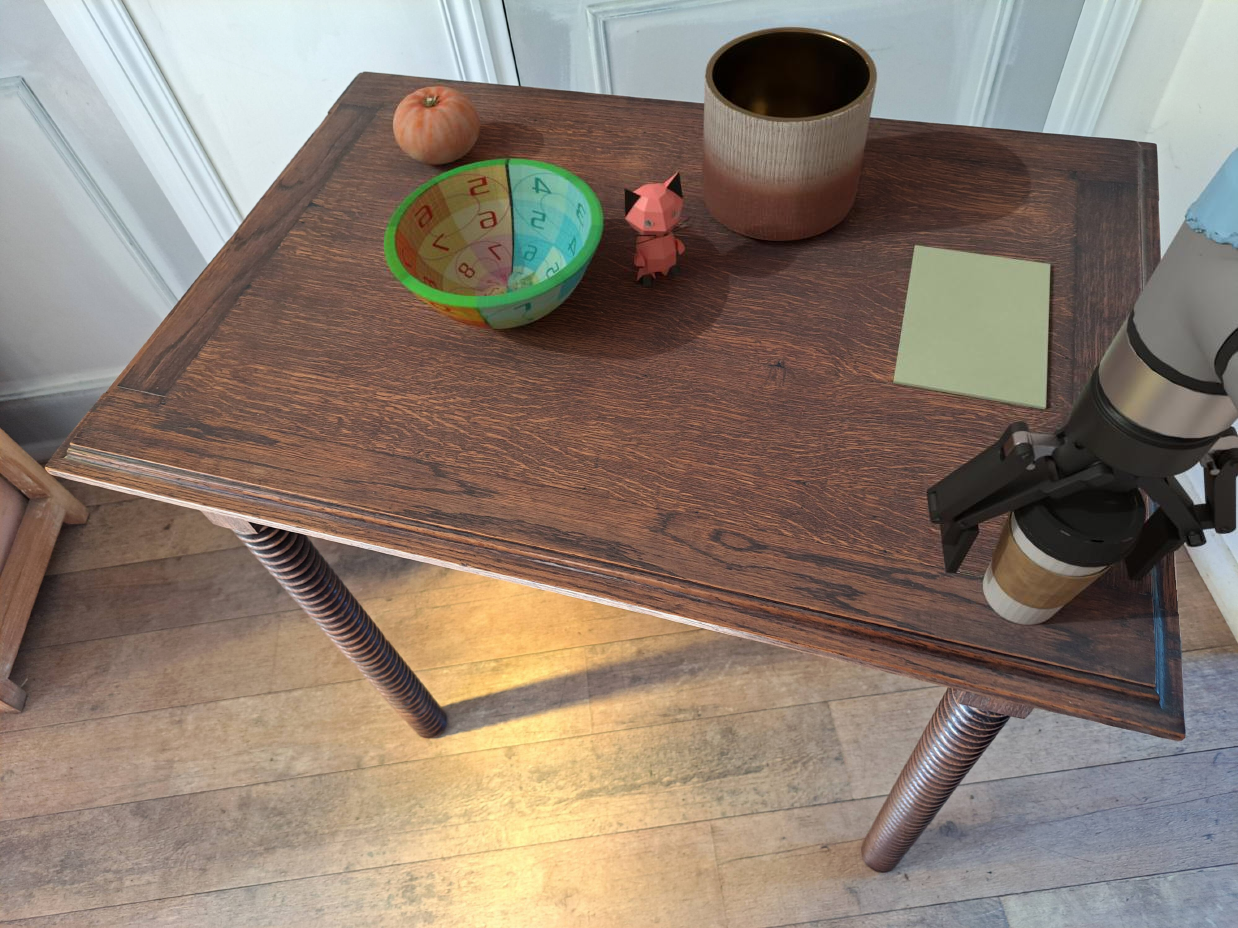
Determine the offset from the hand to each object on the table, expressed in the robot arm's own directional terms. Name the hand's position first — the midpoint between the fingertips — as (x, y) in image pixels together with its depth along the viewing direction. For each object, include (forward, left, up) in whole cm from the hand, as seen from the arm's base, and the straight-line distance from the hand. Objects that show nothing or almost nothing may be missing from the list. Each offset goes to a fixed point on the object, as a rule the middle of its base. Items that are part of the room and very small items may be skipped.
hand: (1038, 561), depth 67 cm
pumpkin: (+82, +23, -5) cm, 85 cm away
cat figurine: (+49, +9, -5) cm, 50 cm away
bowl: (+53, +25, -5) cm, 59 cm away
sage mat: (+26, -16, -5) cm, 31 cm away
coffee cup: (0, 0, -5) cm, 5 cm away
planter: (+53, -9, -5) cm, 54 cm away
